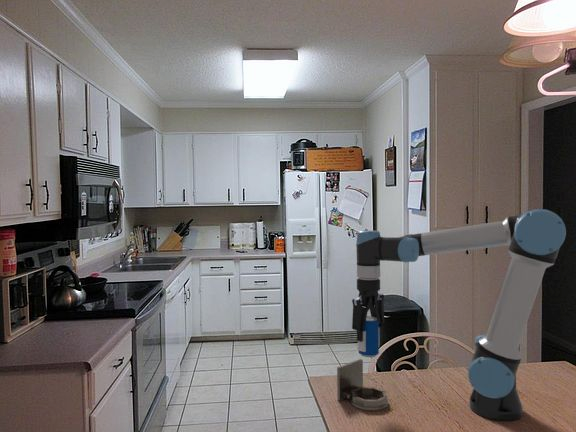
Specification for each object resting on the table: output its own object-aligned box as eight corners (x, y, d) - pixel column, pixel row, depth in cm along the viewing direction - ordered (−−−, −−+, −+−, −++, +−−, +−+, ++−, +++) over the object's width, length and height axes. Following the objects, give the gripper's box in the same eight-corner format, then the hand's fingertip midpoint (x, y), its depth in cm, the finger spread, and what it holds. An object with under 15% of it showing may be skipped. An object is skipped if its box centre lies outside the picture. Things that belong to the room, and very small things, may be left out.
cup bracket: (395, 403, 147) (395, 369, 147) (372, 414, 139) (372, 379, 139) (360, 390, 158) (360, 358, 158) (337, 400, 150) (337, 367, 150)
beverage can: (377, 351, 150) (377, 316, 150) (379, 358, 144) (379, 320, 144) (358, 351, 151) (357, 315, 151) (359, 357, 145) (358, 320, 144)
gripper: (377, 273, 156) (377, 340, 157) (339, 280, 143) (340, 352, 144) (395, 276, 150) (395, 344, 151) (358, 282, 138) (358, 358, 138)
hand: (368, 348), depth 147 cm, fingers closed on beverage can, 6 cm apart
